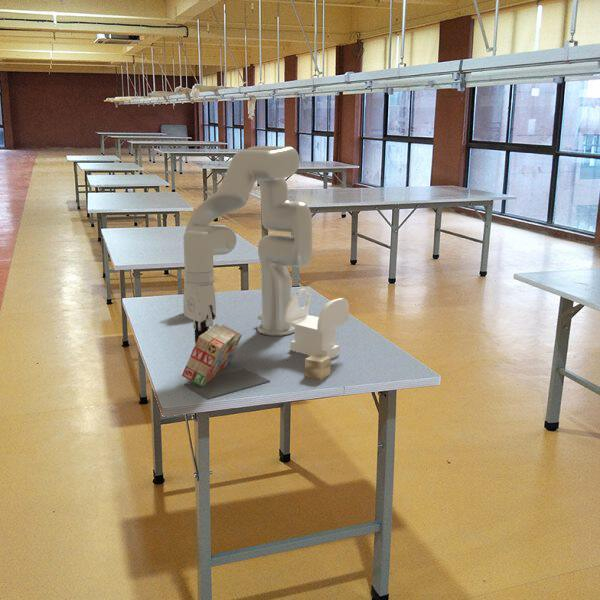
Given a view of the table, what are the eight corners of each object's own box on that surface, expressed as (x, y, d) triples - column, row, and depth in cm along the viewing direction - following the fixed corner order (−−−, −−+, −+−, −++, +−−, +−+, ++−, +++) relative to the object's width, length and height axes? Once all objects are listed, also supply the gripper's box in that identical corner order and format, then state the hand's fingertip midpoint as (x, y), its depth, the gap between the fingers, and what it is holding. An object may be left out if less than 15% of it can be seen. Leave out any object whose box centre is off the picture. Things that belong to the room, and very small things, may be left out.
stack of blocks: (211, 352, 196) (227, 315, 192) (230, 362, 195) (247, 325, 191) (181, 375, 175) (199, 335, 172) (202, 387, 175) (220, 347, 171)
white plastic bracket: (284, 352, 203) (283, 293, 199) (311, 342, 213) (312, 285, 208) (320, 362, 194) (321, 301, 190) (348, 351, 204) (349, 293, 199)
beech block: (305, 376, 184) (305, 358, 183) (314, 370, 188) (314, 353, 187) (321, 380, 182) (321, 362, 180) (330, 374, 186) (330, 356, 185)
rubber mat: (183, 385, 178) (183, 384, 178) (244, 369, 189) (244, 368, 189) (207, 399, 169) (207, 398, 169) (270, 381, 180) (270, 380, 180)
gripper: (173, 274, 184) (176, 339, 188) (201, 283, 173) (203, 353, 177) (197, 270, 188) (199, 334, 193) (226, 280, 177) (228, 347, 182)
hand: (201, 343), depth 185 cm, fingers closed
